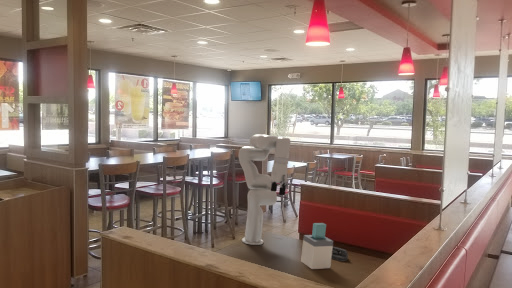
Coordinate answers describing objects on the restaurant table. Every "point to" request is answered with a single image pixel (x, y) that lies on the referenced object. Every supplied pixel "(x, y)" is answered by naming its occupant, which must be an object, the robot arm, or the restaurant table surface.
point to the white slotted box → (316, 252)
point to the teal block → (318, 231)
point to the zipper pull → (339, 254)
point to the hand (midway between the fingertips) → (277, 193)
